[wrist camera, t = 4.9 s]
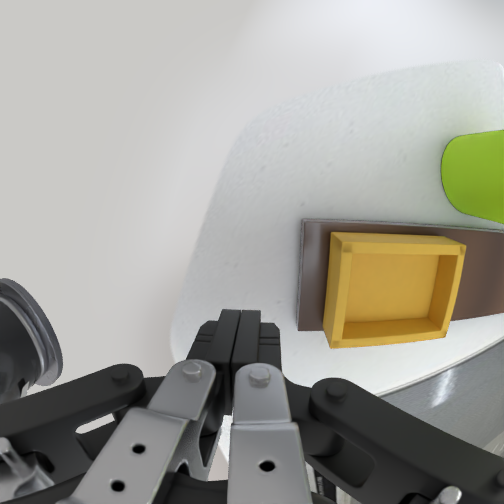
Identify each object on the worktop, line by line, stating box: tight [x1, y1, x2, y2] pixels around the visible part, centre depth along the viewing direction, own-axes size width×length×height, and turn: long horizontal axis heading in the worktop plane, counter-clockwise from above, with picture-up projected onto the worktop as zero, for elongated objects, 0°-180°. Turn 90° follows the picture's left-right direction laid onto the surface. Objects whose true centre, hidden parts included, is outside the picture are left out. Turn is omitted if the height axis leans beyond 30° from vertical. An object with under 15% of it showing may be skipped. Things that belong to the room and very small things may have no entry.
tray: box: [323, 232, 466, 349], centre depth 15 cm, size 8×6×3 cm
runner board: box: [296, 219, 504, 331], centre depth 17 cm, size 31×7×1 cm, turn 90°
